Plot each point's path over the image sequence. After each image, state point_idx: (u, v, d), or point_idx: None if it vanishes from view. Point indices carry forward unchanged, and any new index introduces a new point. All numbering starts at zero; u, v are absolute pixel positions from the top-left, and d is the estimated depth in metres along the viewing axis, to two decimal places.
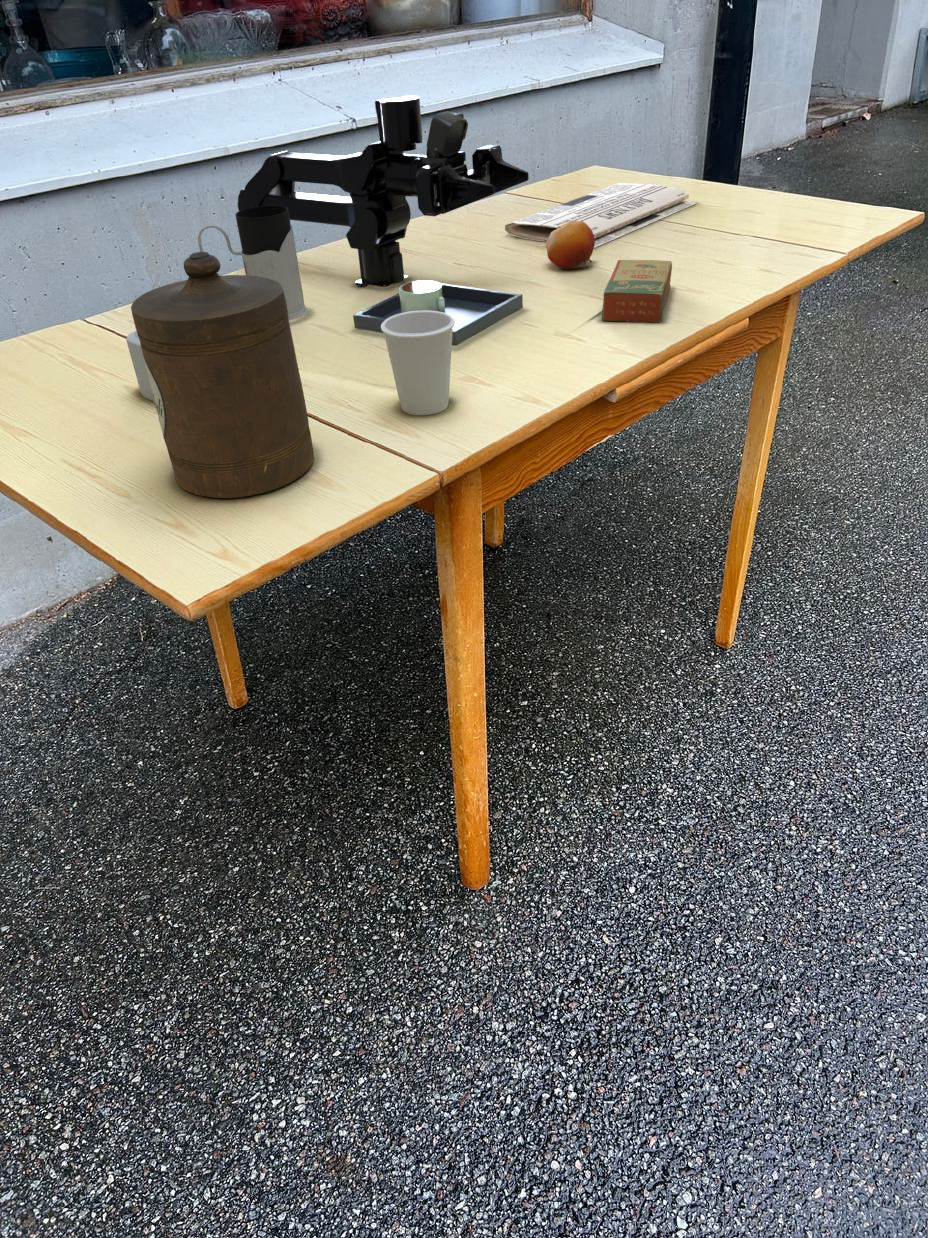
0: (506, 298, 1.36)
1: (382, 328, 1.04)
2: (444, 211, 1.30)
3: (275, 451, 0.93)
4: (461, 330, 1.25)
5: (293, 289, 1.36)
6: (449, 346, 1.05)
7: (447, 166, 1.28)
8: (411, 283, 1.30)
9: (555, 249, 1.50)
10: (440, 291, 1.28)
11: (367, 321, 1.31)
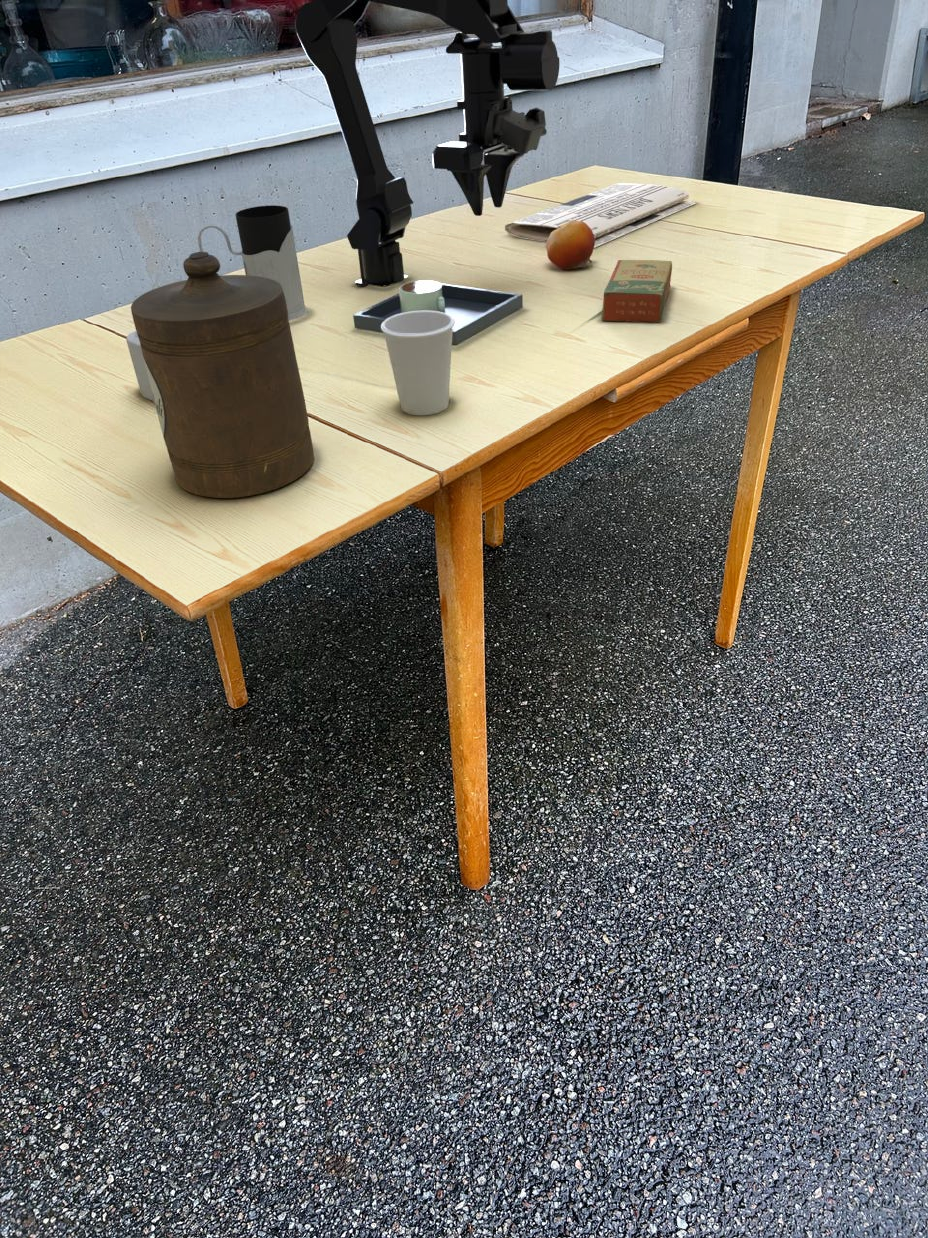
0: (506, 298, 1.36)
1: (382, 328, 1.04)
2: None
3: (275, 451, 0.93)
4: (461, 330, 1.25)
5: (293, 289, 1.36)
6: (449, 346, 1.05)
7: (487, 168, 1.29)
8: (411, 283, 1.30)
9: (555, 249, 1.50)
10: (440, 291, 1.28)
11: (367, 321, 1.31)
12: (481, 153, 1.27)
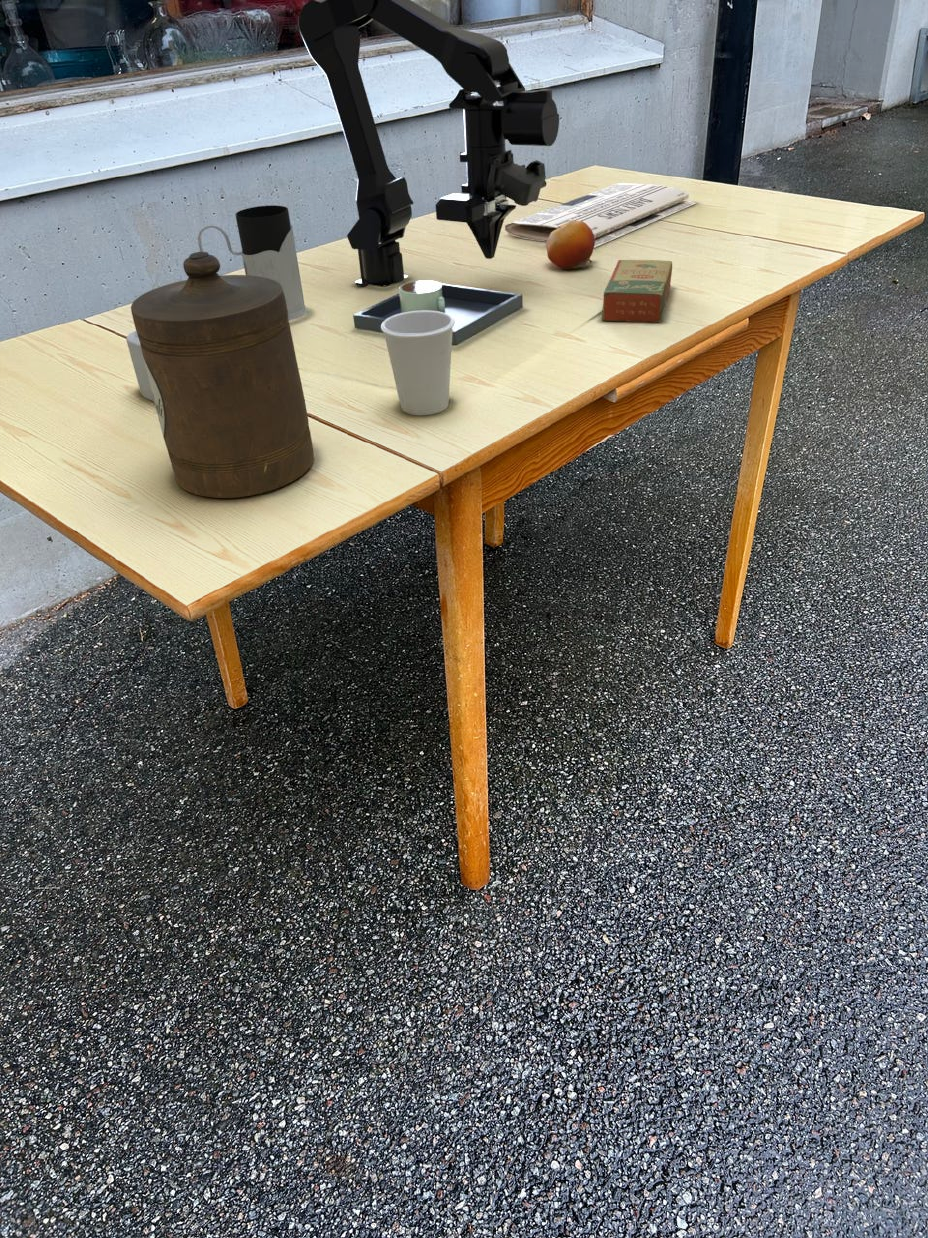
0: (506, 298, 1.36)
1: (382, 328, 1.04)
2: None
3: (275, 451, 0.93)
4: (461, 330, 1.25)
5: (293, 289, 1.36)
6: (449, 346, 1.05)
7: (498, 215, 1.35)
8: (411, 283, 1.30)
9: (555, 249, 1.50)
10: (440, 291, 1.28)
11: (367, 321, 1.31)
12: (483, 205, 1.30)
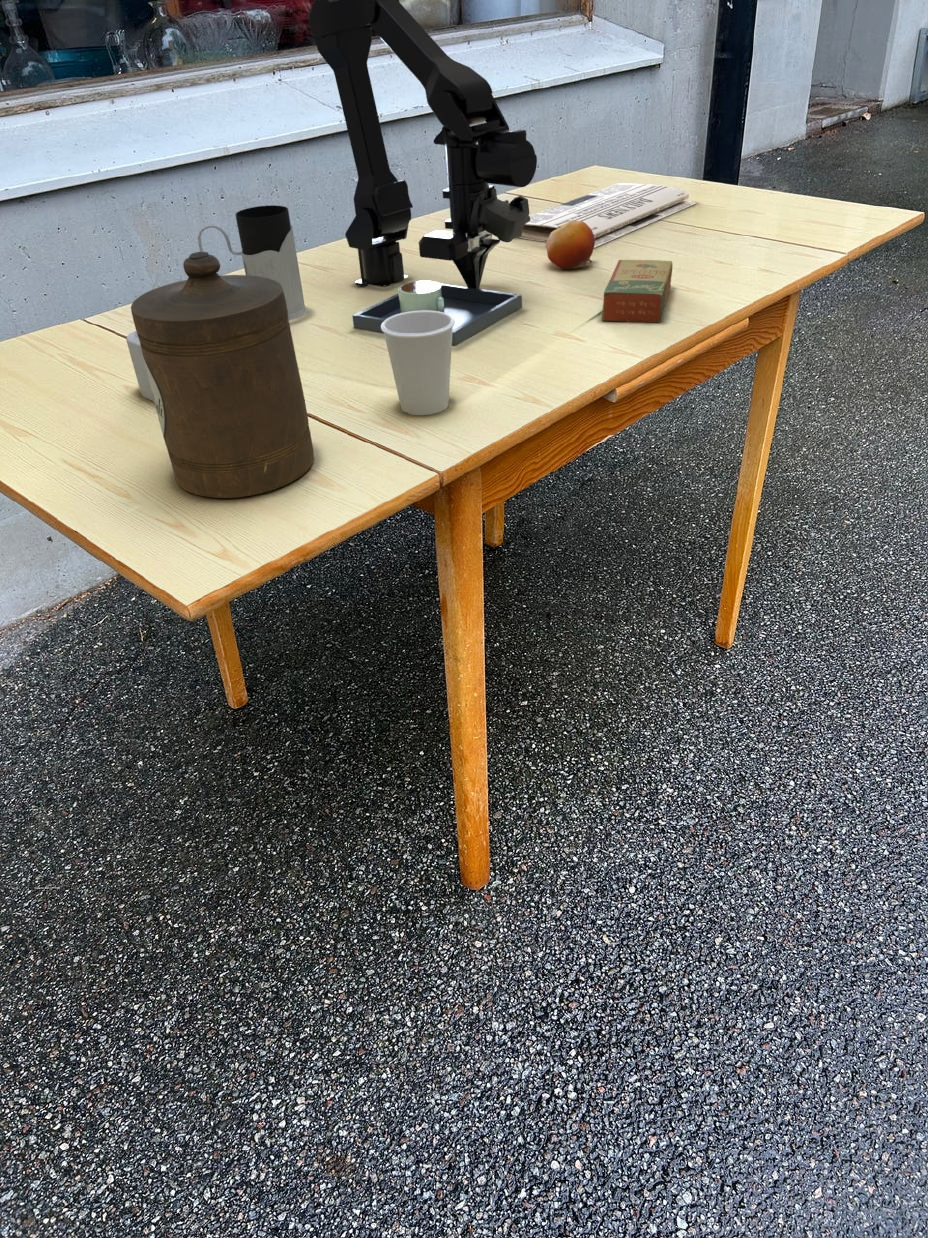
0: (505, 298, 1.36)
1: (382, 328, 1.04)
2: None
3: (275, 451, 0.93)
4: (461, 330, 1.25)
5: (293, 289, 1.36)
6: (449, 346, 1.05)
7: (483, 250, 1.34)
8: (410, 283, 1.30)
9: (555, 249, 1.50)
10: (439, 291, 1.28)
11: (366, 322, 1.31)
12: (466, 243, 1.30)
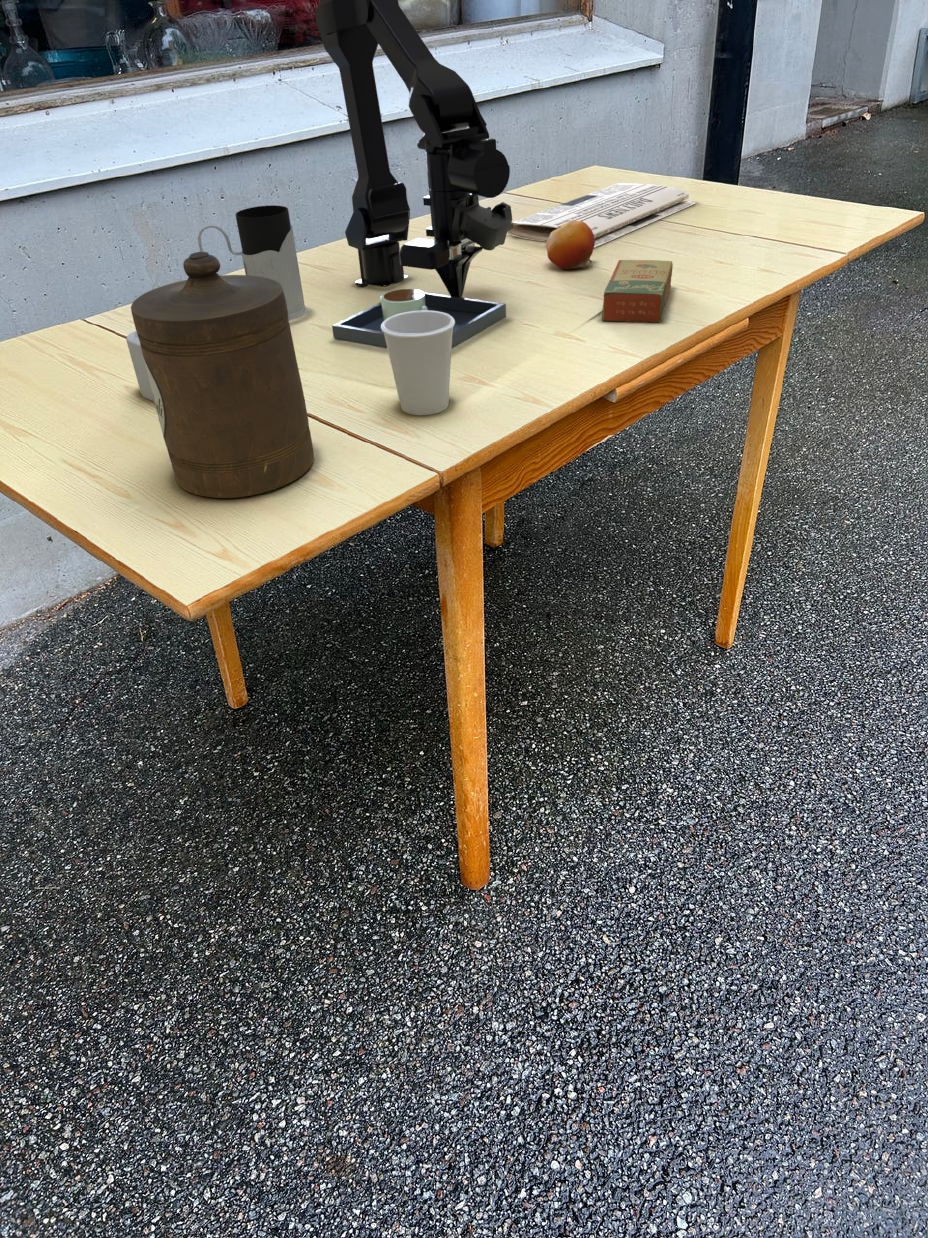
0: (489, 307, 1.33)
1: (382, 328, 1.04)
2: None
3: (275, 451, 0.93)
4: None
5: (293, 289, 1.36)
6: (449, 346, 1.05)
7: (465, 258, 1.31)
8: (393, 292, 1.27)
9: (555, 249, 1.50)
10: (423, 300, 1.25)
11: (346, 332, 1.28)
12: (448, 251, 1.27)
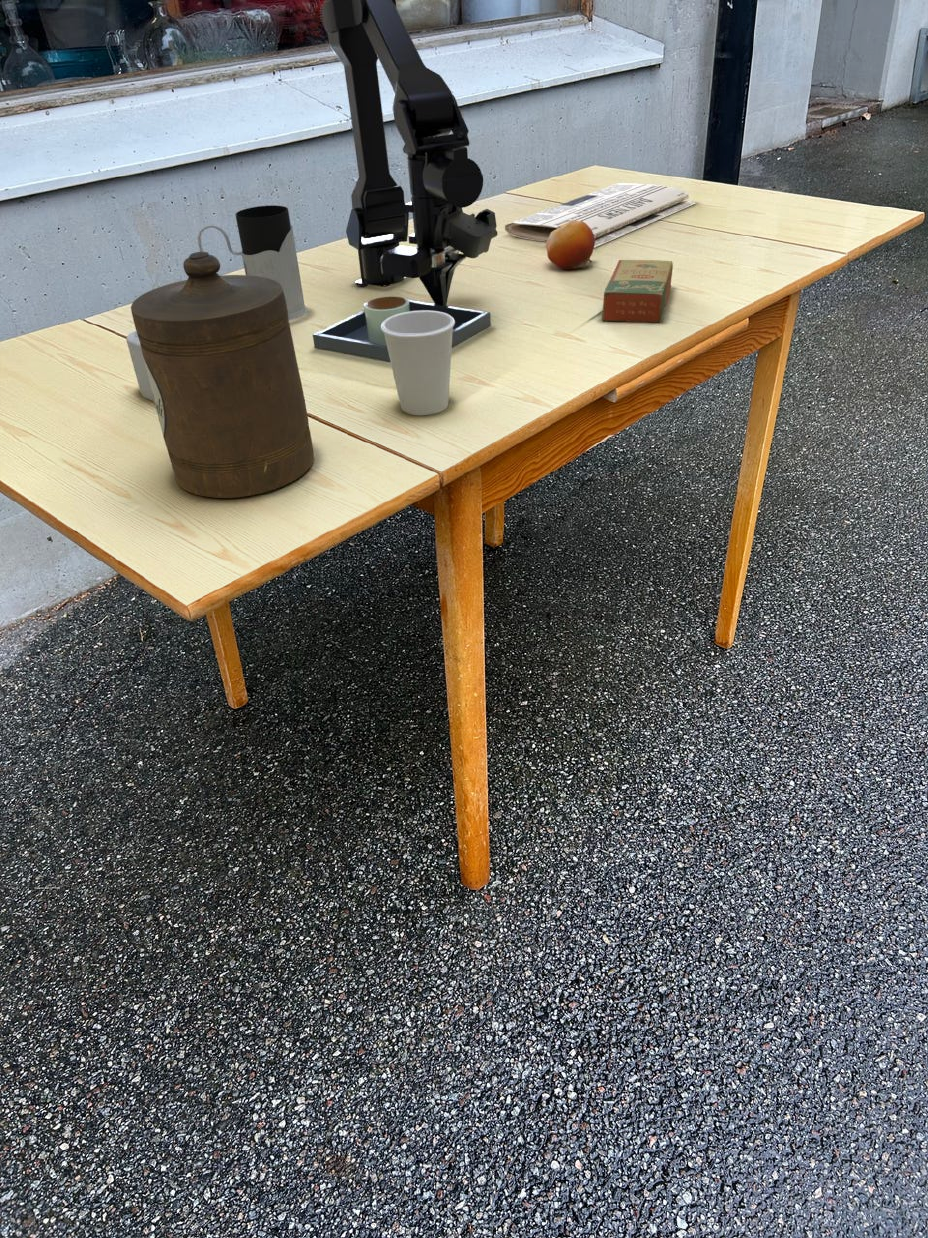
0: (473, 316, 1.30)
1: (382, 328, 1.04)
2: None
3: (275, 451, 0.93)
4: None
5: (293, 289, 1.36)
6: (449, 346, 1.05)
7: (448, 266, 1.28)
8: (377, 299, 1.25)
9: (555, 249, 1.50)
10: (407, 308, 1.23)
11: (327, 341, 1.25)
12: (430, 259, 1.24)
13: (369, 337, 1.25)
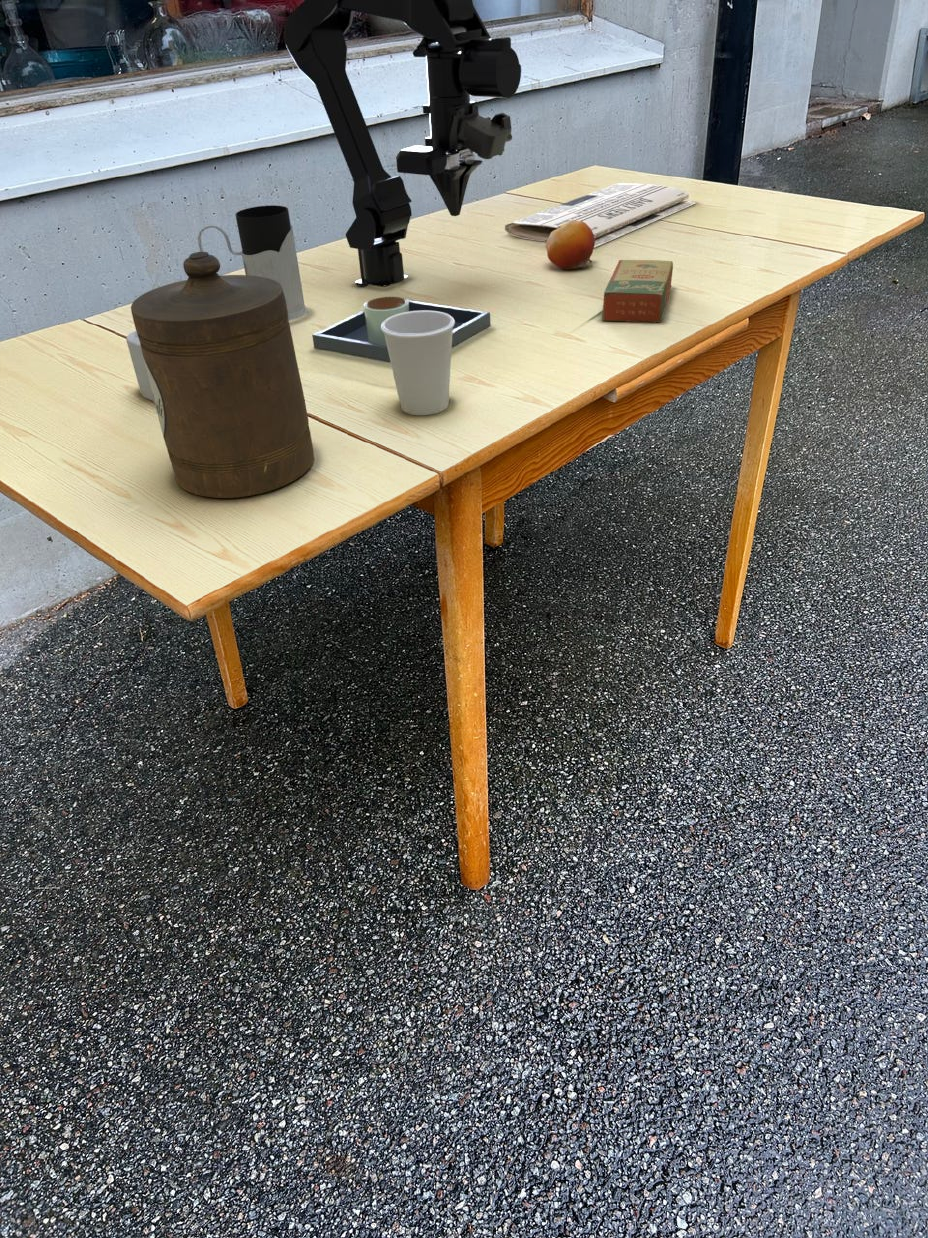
0: (473, 316, 1.30)
1: (382, 328, 1.04)
2: None
3: (275, 451, 0.93)
4: None
5: (293, 289, 1.36)
6: (449, 346, 1.05)
7: (462, 169, 1.31)
8: (377, 299, 1.25)
9: (555, 249, 1.50)
10: (407, 308, 1.23)
11: (327, 342, 1.25)
12: (444, 158, 1.26)
13: (369, 337, 1.25)
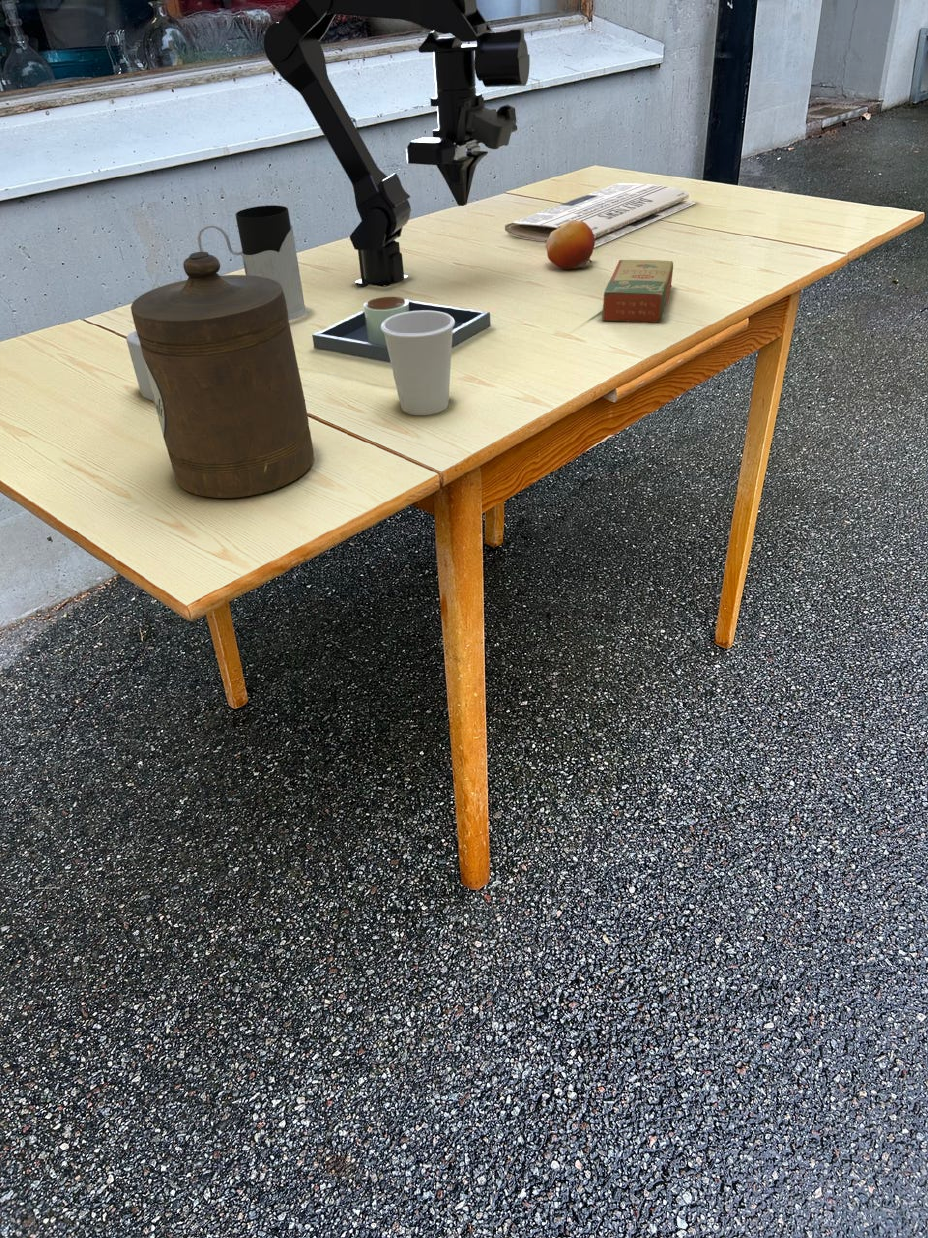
0: (473, 316, 1.30)
1: (382, 328, 1.04)
2: None
3: (275, 451, 0.93)
4: None
5: (293, 289, 1.36)
6: (449, 346, 1.05)
7: (470, 159, 1.35)
8: (377, 299, 1.25)
9: (555, 249, 1.50)
10: (407, 308, 1.23)
11: (327, 342, 1.25)
12: (453, 148, 1.31)
13: (369, 337, 1.25)
